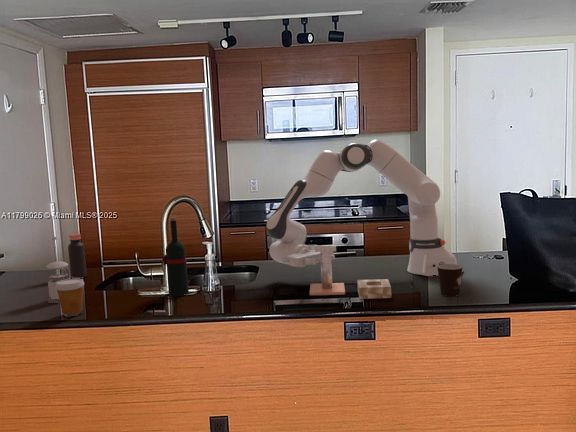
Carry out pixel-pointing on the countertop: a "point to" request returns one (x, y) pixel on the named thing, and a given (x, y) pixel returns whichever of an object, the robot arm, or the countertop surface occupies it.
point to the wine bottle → (176, 264)
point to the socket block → (374, 288)
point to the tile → (318, 290)
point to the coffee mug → (450, 279)
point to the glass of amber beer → (70, 295)
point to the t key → (326, 264)
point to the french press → (56, 275)
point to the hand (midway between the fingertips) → (324, 260)
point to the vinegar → (77, 256)
